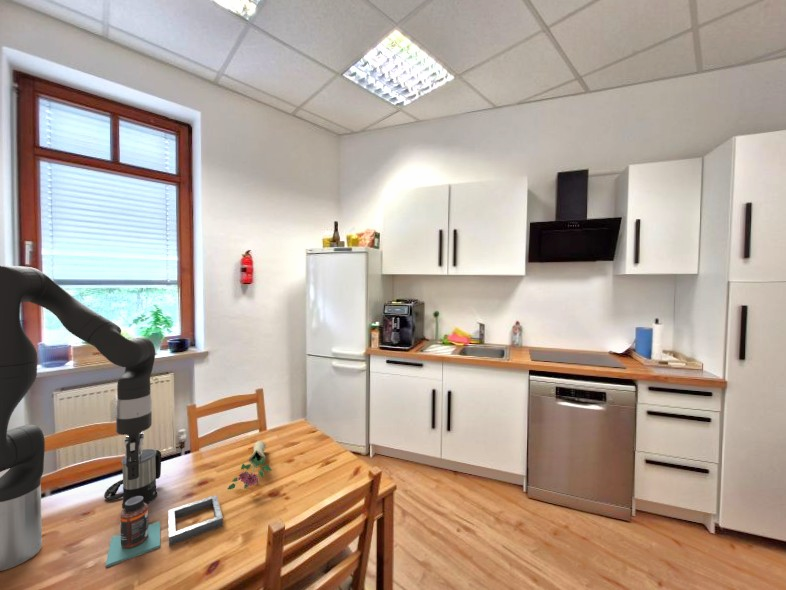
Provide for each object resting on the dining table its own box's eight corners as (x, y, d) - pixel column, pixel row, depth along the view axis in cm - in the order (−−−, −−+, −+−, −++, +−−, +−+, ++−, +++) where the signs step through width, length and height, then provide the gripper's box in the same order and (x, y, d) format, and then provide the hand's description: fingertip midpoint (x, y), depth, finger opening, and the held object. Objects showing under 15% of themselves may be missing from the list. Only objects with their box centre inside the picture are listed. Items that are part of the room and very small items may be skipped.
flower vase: (267, 471, 137) (263, 504, 104) (237, 466, 134) (223, 498, 101) (276, 441, 140) (275, 464, 108) (247, 436, 137) (237, 458, 105)
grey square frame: (168, 546, 87) (168, 537, 87) (168, 518, 98) (168, 510, 98) (222, 526, 95) (222, 517, 95) (216, 502, 105) (216, 494, 105)
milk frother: (152, 505, 104) (151, 460, 103) (89, 518, 98) (88, 470, 98) (164, 481, 117) (164, 440, 117) (110, 491, 111) (109, 448, 111)
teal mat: (105, 567, 81) (105, 565, 81) (111, 539, 90) (111, 537, 90) (159, 547, 87) (159, 545, 87) (160, 523, 96) (160, 521, 96)
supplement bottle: (154, 534, 91) (153, 494, 90) (133, 551, 85) (132, 509, 85) (136, 531, 92) (136, 492, 92) (114, 547, 86) (114, 505, 86)
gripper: (150, 417, 84) (151, 479, 84) (152, 401, 96) (152, 455, 96) (112, 424, 80) (113, 489, 80) (119, 406, 91) (119, 463, 92)
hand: (134, 471), depth 88 cm, fingers open, 8 cm apart
